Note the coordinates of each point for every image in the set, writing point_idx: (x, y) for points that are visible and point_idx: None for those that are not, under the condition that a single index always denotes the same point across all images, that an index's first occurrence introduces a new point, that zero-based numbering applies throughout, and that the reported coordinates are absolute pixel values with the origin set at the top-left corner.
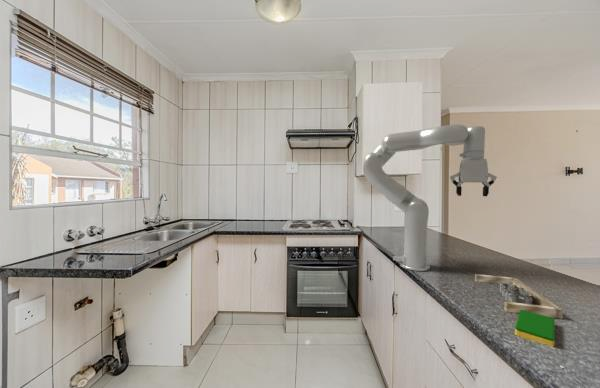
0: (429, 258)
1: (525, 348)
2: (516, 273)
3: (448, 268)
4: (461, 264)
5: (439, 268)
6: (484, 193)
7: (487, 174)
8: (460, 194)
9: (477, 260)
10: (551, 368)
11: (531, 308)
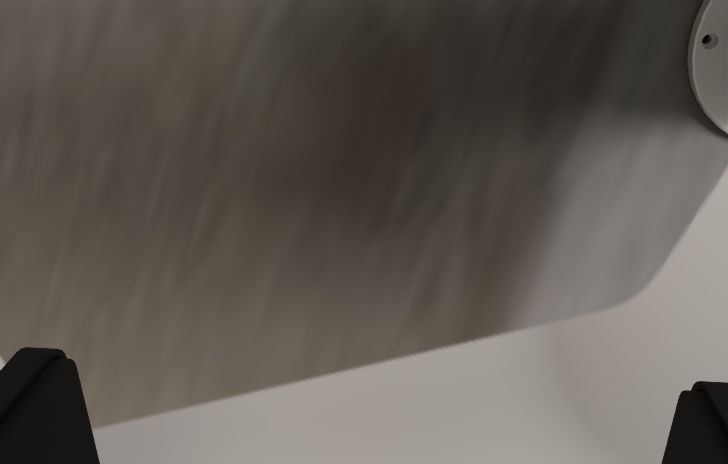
0: (589, 299)
1: None
2: (110, 108)
3: (534, 83)
4: (405, 212)
5: (605, 61)
6: (50, 450)
7: None
8: (722, 400)
9: (269, 334)
10: None
11: None
